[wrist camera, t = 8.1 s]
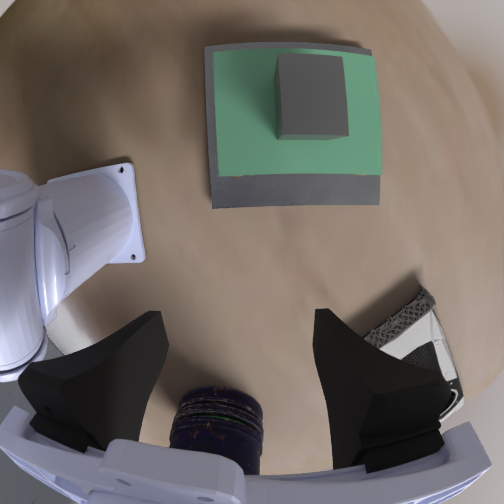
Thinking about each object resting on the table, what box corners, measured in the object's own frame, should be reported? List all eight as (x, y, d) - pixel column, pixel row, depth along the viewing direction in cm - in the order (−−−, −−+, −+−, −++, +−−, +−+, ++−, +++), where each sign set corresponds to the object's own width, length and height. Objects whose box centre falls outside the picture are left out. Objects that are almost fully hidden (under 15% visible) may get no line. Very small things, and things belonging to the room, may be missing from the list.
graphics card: (435, 298, 19) (469, 405, 25) (417, 281, 22) (460, 390, 28) (340, 367, 21) (413, 443, 27) (332, 343, 24) (407, 427, 30)
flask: (20, 327, 26) (-80, 443, 2) (27, 311, 24) (-89, 439, 1) (111, 413, 30) (53, 552, 6) (126, 405, 29) (64, 563, 5)
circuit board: (221, 175, 17) (205, 183, 12) (215, 57, 14) (199, 25, 9) (375, 174, 16) (413, 182, 12) (368, 60, 14) (400, 35, 9)
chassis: (214, 206, 20) (208, 213, 18) (206, 51, 16) (199, 39, 14) (374, 202, 19) (387, 209, 17) (366, 53, 15) (378, 43, 13)
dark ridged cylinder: (276, 425, 28) (278, 534, 14) (206, 437, 30) (189, 533, 16) (240, 376, 25) (227, 516, 11) (162, 393, 27) (124, 504, 13)
